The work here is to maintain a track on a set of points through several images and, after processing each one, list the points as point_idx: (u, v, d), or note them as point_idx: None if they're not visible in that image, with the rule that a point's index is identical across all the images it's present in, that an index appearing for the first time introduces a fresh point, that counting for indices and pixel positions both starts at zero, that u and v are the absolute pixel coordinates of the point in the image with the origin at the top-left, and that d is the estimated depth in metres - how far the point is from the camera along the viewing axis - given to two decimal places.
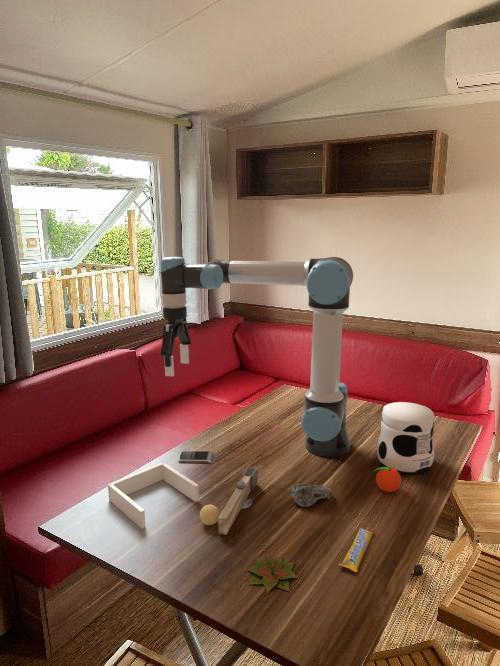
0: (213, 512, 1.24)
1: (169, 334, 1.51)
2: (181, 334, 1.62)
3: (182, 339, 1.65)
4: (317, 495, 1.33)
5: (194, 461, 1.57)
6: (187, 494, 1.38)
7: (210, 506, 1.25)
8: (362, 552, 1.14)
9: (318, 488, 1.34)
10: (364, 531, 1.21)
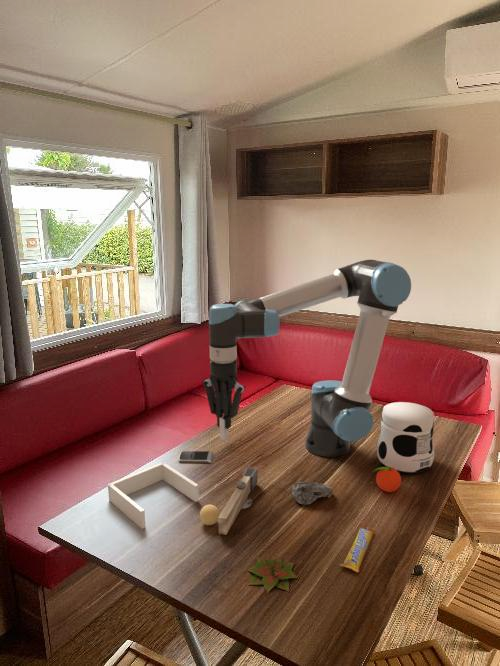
0: (213, 512, 1.24)
1: (241, 395, 1.37)
2: (222, 396, 1.40)
3: (221, 406, 1.40)
4: (317, 493, 1.34)
5: (194, 461, 1.57)
6: (187, 494, 1.38)
7: (210, 506, 1.25)
8: (363, 552, 1.14)
9: (318, 486, 1.35)
10: (364, 531, 1.21)
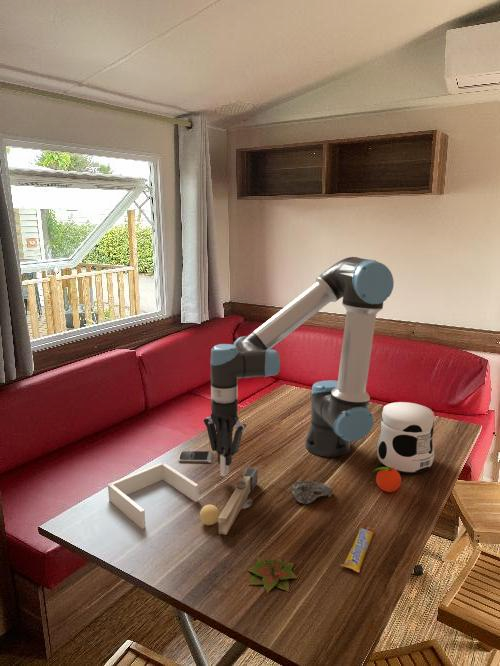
0: (213, 512, 1.24)
1: (241, 433, 1.40)
2: (223, 433, 1.42)
3: (222, 443, 1.42)
4: (317, 492, 1.35)
5: (194, 461, 1.57)
6: (187, 494, 1.38)
7: (210, 506, 1.25)
8: (363, 552, 1.14)
9: (318, 486, 1.35)
10: (364, 531, 1.21)
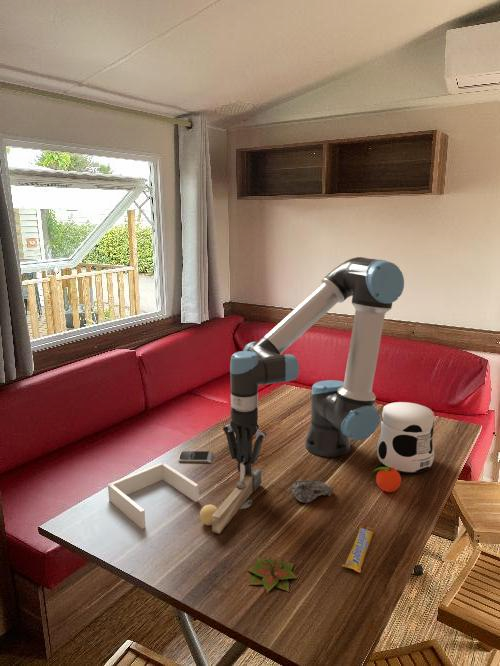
0: (213, 512, 1.24)
1: (261, 441, 1.37)
2: (243, 441, 1.40)
3: (242, 451, 1.40)
4: (317, 491, 1.35)
5: (194, 461, 1.57)
6: (187, 494, 1.38)
7: (210, 506, 1.25)
8: (364, 552, 1.14)
9: (318, 485, 1.35)
10: (364, 531, 1.21)
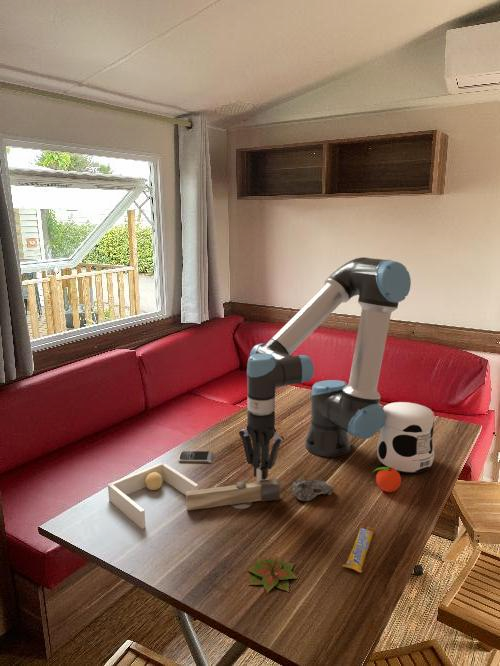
0: None
1: (279, 445, 1.34)
2: (259, 446, 1.37)
3: (258, 456, 1.37)
4: (317, 490, 1.36)
5: (194, 461, 1.57)
6: None
7: None
8: (365, 552, 1.14)
9: (318, 483, 1.36)
10: (365, 531, 1.21)
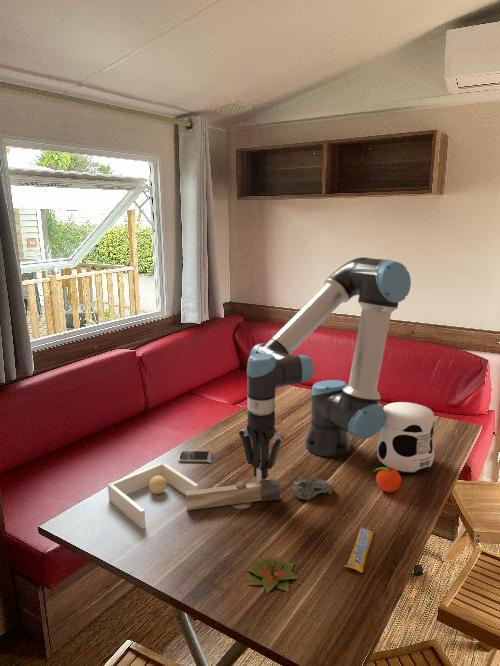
0: None
1: (279, 446, 1.34)
2: (259, 446, 1.37)
3: (258, 456, 1.37)
4: (317, 489, 1.36)
5: (194, 461, 1.57)
6: None
7: None
8: (365, 552, 1.14)
9: (318, 482, 1.37)
10: (365, 531, 1.21)
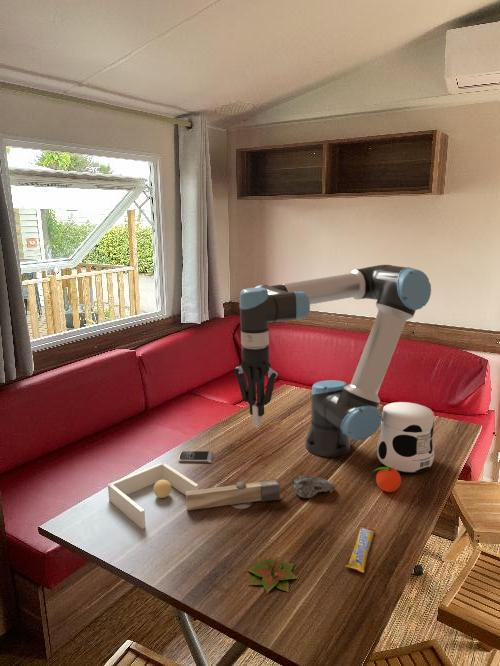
0: (156, 482, 1.37)
1: (274, 381, 1.34)
2: (254, 383, 1.36)
3: (254, 393, 1.36)
4: (318, 487, 1.37)
5: (194, 461, 1.57)
6: None
7: None
8: (366, 552, 1.14)
9: (319, 481, 1.37)
10: (365, 530, 1.21)
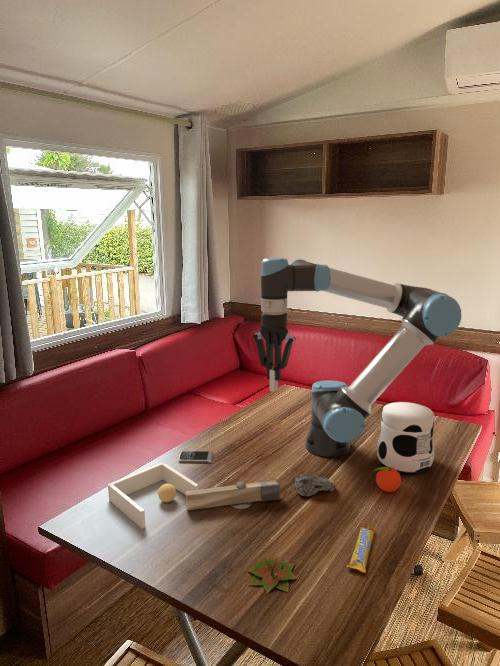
0: (165, 491, 1.34)
1: (291, 346, 1.42)
2: (272, 348, 1.44)
3: (271, 358, 1.44)
4: (318, 486, 1.38)
5: (194, 461, 1.57)
6: None
7: (164, 485, 1.35)
8: (367, 552, 1.14)
9: (319, 480, 1.38)
10: (366, 530, 1.21)
